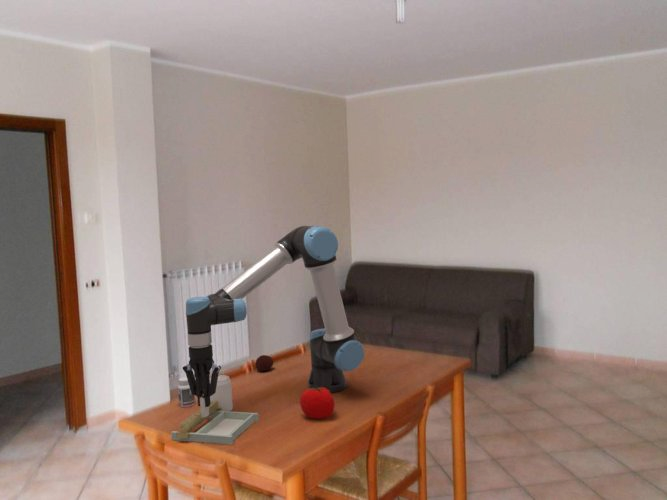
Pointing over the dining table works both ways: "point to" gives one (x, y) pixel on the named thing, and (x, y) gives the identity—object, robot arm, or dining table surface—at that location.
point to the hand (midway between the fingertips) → (205, 415)
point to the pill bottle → (185, 393)
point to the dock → (222, 428)
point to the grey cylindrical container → (223, 393)
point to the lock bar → (195, 421)
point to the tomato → (317, 403)
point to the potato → (264, 363)
